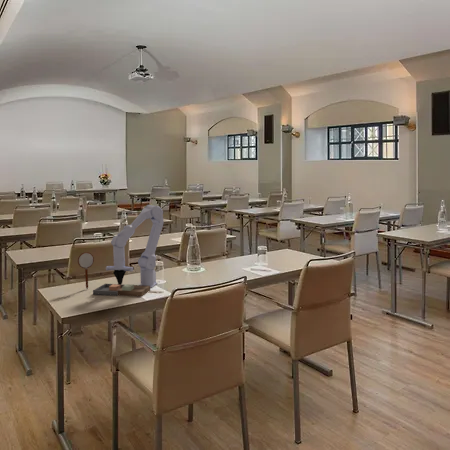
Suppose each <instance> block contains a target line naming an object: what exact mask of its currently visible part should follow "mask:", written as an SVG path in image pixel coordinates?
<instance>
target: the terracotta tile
mask: <svg viewBox="0 0 450 450" xmlns="http://www.w3.org/2000/svg"><path fill="white" fill-rule="evenodd" d="M111 284H112V285H111V286H109V290H115V291H117V290H119V289H121V285H116V284H117V283H111Z"/></svg>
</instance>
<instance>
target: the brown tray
mask: <svg viewBox="0 0 450 450" xmlns="http://www.w3.org/2000/svg"><path fill="white" fill-rule="evenodd" d="M133 285H134V289H133V290H131V291H125V290H122V288H121V289H119V290H118V295H117V296H120V297H121V296H123V297H139V298H141V297H144V296H145V295H146V294H148V293H149V292H150V291H151V287H150V286H144V285H140V284H133ZM148 291H149V292H148ZM147 292H148V293H147Z"/></svg>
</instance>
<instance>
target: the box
mask: <svg viewBox="0 0 450 450" xmlns="http://www.w3.org/2000/svg"><path fill="white" fill-rule="evenodd" d="M112 284H113V283H104V284H102V285H100V286H98V287H97V288H94V289H93V290H92V296H93V295H94V296H97V295H98V296H114V297H117V296H119V295H118V290H117V291H115V290H109V286H111V285H112ZM115 284H116V285H118V283H115ZM124 285H125V284H123V283H122V284H121V288H122V286H124Z"/></svg>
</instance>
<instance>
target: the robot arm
mask: <svg viewBox="0 0 450 450" xmlns="http://www.w3.org/2000/svg"><path fill="white" fill-rule="evenodd" d="M163 214H164V211H163V209H162V207H161V206H159V205H154V204H153V205H152V204H146V206H144V207H143V208H142V210H141V211H140V213H139V214H138V215H137V216H136V218H134V220H133V221H132V222H131V223H130V224H126V225H124V226H123V228H122V229H121V230H120V232H118V233H117V234H116V235H114V236H113V237H112V239H111V241H110V244H111V245H112V249H113V251H112V252H113V254H112V255H113V265H107V266H105V271H113V275H114V276H115V279H116V281H117V282H116V283H117V284H118V285H121V284H123V280H124V276H125V275H126V273H127V272H133V271H134V267H133V266H127V265H126V258H125V257H126V256H125V255H126V254H125V253H126V252H125V246H126V245H127V243H128V241H129V239H131V237H132V236H133V235H134V234H135V232H136V229H137V228H138V227H139V226H140V225H141V224H143V222H144V221H146V220H148V219H150V221H151V222H152V225H151V229H150V233H149V236H148V239H147V242H146V243H147V244H146V245H145V250H144V251H143V252H142V253H141V256H140V257H139V258H138V259H137V260H138V261H137V265H138V266H139V267H140V269H139V270H140V271H139V272H140V275H139V276H140V284H139V285H144V286H150V288H153V287H155V286H156V285H158V282H157V272H156V270H155V268H156V266H157V262H156V260H157V255H156V250H157V247H158V244H159V240H160V237H161V233H162V229H163V226H164V224H165V223H164V216H163Z"/></svg>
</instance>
